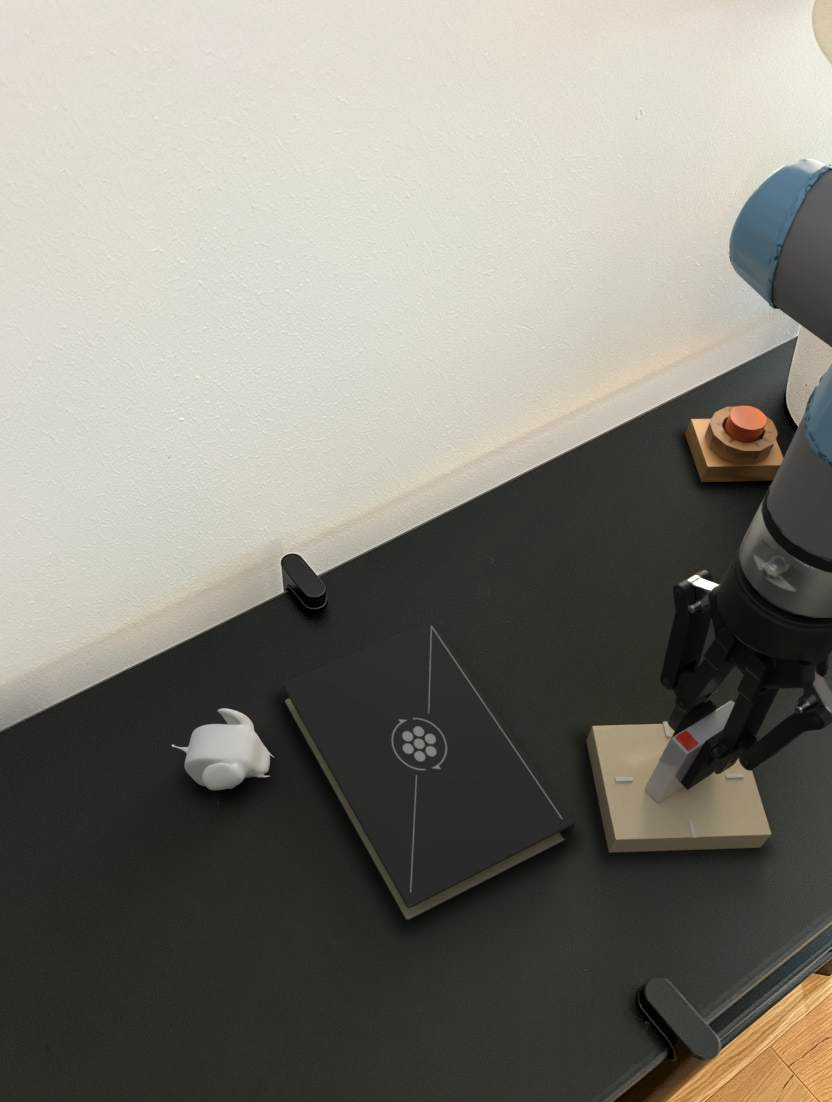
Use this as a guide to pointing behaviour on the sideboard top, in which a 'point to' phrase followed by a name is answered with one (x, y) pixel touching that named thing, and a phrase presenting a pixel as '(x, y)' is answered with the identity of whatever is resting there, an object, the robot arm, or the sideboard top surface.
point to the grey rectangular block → (684, 753)
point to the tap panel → (684, 817)
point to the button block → (732, 451)
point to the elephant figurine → (226, 752)
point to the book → (425, 768)
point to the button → (745, 424)
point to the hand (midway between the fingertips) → (686, 766)
